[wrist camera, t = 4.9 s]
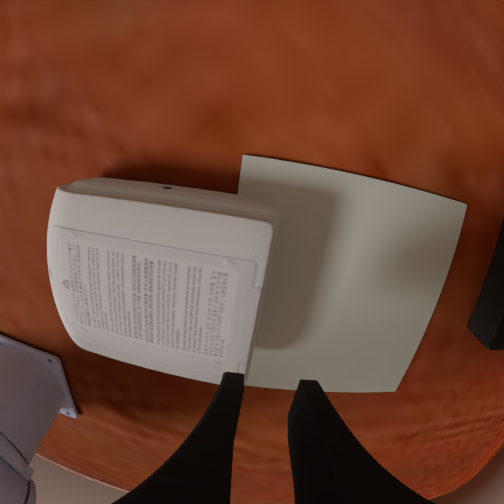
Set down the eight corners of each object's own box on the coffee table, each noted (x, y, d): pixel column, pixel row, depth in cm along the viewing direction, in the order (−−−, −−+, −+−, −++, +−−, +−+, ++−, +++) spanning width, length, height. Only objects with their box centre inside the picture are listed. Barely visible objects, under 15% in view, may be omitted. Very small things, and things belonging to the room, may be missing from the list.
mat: (215, 378, 21) (215, 381, 20) (243, 154, 16) (242, 154, 15) (394, 389, 21) (395, 391, 21) (464, 203, 16) (467, 204, 16)
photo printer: (280, 192, 16) (72, 169, 16) (283, 211, 12) (26, 181, 12) (252, 352, 19) (81, 315, 19) (246, 400, 15) (50, 349, 15)
